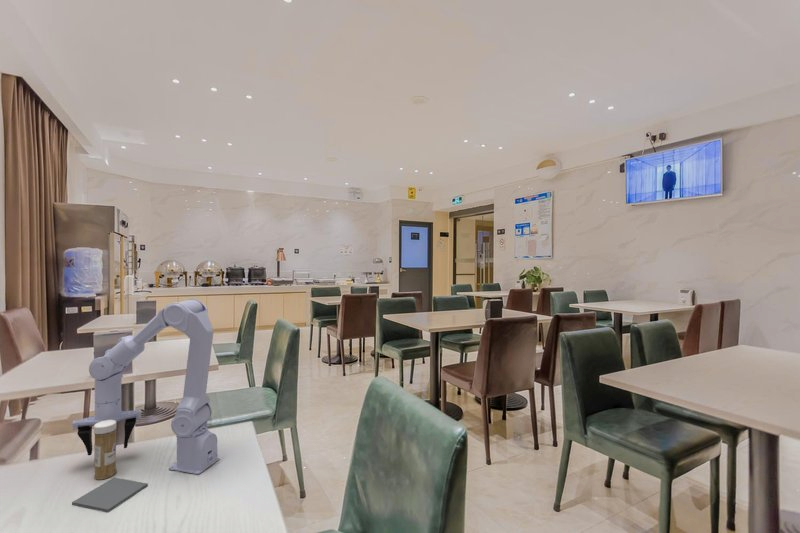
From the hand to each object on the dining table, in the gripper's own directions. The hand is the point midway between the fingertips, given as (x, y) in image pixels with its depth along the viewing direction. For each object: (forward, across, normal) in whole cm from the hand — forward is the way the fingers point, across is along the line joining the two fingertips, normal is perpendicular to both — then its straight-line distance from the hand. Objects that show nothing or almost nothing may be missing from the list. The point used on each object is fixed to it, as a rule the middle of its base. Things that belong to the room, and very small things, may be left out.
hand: (108, 450), depth 104 cm
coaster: (+3, -2, +18) cm, 18 cm away
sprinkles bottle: (+4, 0, +7) cm, 8 cm away
